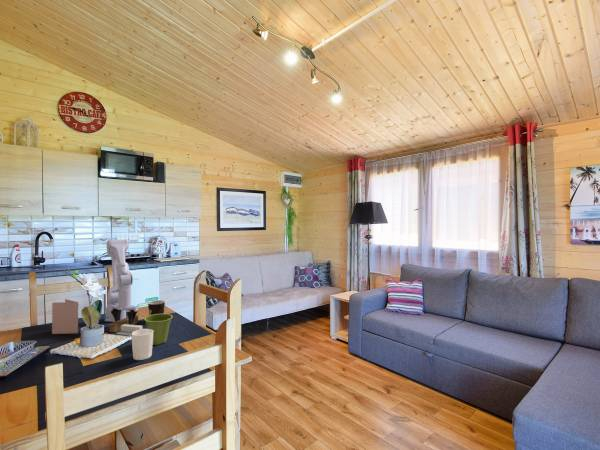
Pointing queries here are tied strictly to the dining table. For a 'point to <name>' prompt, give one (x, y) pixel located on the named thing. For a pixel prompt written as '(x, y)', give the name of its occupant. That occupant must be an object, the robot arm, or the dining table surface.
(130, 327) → the fulcrum
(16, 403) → the dining table surface
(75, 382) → the dining table surface
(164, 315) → the plant pot
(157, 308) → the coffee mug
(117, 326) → the walnut bar
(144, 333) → the white cup
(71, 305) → the greeting card
